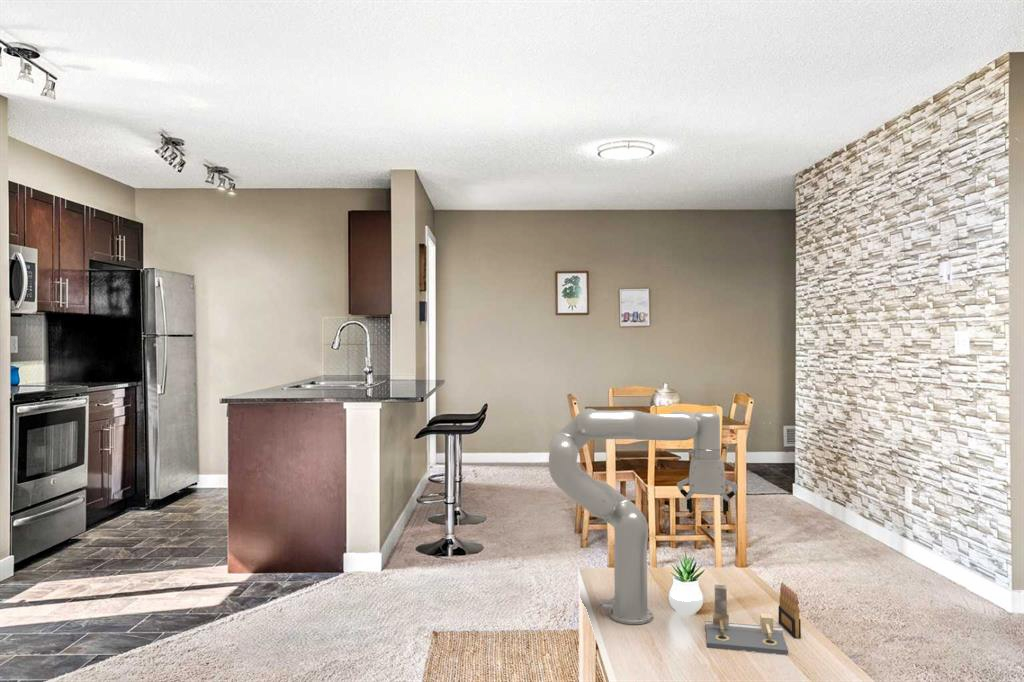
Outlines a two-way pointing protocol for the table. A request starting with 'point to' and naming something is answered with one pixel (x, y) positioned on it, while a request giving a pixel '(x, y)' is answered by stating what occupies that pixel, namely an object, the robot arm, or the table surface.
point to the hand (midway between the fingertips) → (707, 512)
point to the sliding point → (721, 607)
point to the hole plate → (748, 636)
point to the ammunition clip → (789, 611)
